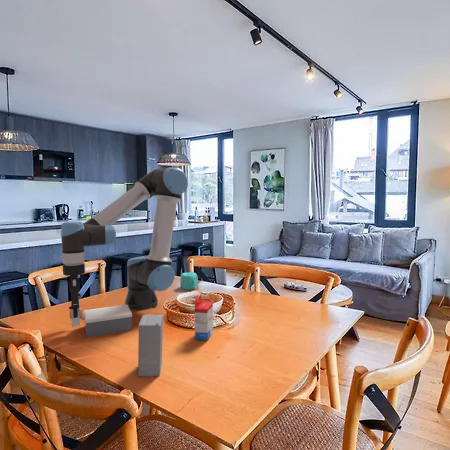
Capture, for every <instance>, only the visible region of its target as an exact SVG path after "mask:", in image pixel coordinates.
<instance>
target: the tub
mask: <svg viewBox="0 0 450 450" xmlns="http://www.w3.org/2000/svg"><path fill="white" fill-rule="evenodd" d="M132 325H133V323H132V317H126V318H119V319H112V320H106V321H99V322H92V323H85V333H86V338H91V337H92V338H93V337H99V336H106V335H111V334H117V333H124V332H130V331H132V330H133V327H132Z"/></svg>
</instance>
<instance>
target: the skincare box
mask: <svg viewBox="0 0 450 450" xmlns="http://www.w3.org/2000/svg"><path fill="white" fill-rule="evenodd" d="M163 331H164V314H142V316H141V318H140V321H139V322H138V353H137V354H138V355H137V356H138V357H137V359H138V361H137V362H138V363H137V367H138V368H137V375H138V377H139V378H140V377H160V376H161V370H162V364H163V340H164V339H163V338H164V335H163V334H164V332H163Z"/></svg>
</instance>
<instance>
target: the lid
mask: <svg viewBox="0 0 450 450" xmlns="http://www.w3.org/2000/svg"><path fill="white" fill-rule="evenodd" d="M83 310H84V311H83ZM79 311H80V320H81V321H83V320H84V324H86V323H92V322H99V321H106V320H112V319H119V318H126V317H131V318H133V313H132V311H131V309H129V307H128V305H125V304H121V305H113V306H107V307H98V308H92V309H91V308H90V309H83V308H82V307H81V306H80V305H79ZM69 318H70V320H71V309H69Z"/></svg>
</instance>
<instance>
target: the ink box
mask: <svg viewBox="0 0 450 450" xmlns="http://www.w3.org/2000/svg"><path fill="white" fill-rule="evenodd" d="M213 304H214V303H213V301H205V300H204V301H203V300H202V294H199V296H198V297H196V298H195V299H194V339H195V341H196V340H197V341H208V340H209V339H210V337H211V335H212V334H213V332H214V318H213V317H214V311H213V309H214V308H213V307H214V306H213Z"/></svg>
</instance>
